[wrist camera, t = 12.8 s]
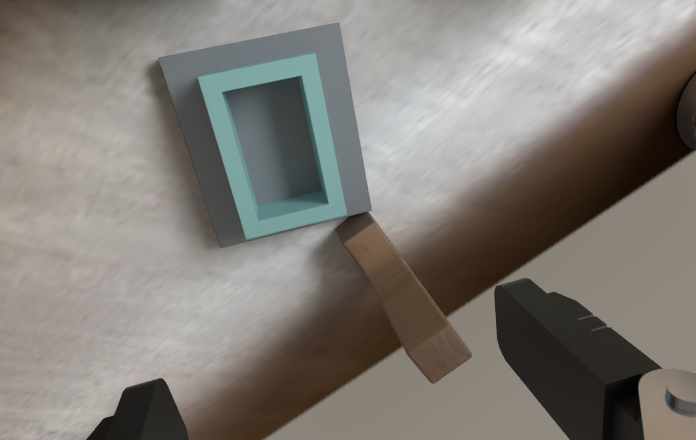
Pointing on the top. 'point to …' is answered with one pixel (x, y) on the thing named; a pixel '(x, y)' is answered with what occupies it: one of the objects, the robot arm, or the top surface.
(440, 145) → the top surface
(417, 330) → the wooden block
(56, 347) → the top surface
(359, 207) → the cradle jig
